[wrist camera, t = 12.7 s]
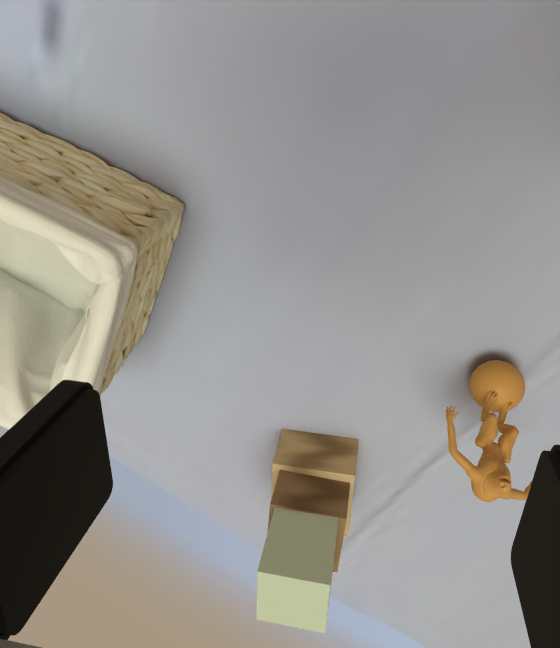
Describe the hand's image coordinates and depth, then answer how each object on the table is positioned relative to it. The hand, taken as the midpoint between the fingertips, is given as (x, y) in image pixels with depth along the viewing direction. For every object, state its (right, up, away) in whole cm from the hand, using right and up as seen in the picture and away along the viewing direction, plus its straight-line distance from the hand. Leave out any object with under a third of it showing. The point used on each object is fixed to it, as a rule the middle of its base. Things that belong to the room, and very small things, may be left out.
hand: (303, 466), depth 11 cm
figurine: (+16, -2, +32) cm, 36 cm away
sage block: (+1, -14, +31) cm, 34 cm away
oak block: (+3, -10, +39) cm, 40 cm away
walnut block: (+2, -12, +34) cm, 37 cm away
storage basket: (-20, +11, +33) cm, 40 cm away
